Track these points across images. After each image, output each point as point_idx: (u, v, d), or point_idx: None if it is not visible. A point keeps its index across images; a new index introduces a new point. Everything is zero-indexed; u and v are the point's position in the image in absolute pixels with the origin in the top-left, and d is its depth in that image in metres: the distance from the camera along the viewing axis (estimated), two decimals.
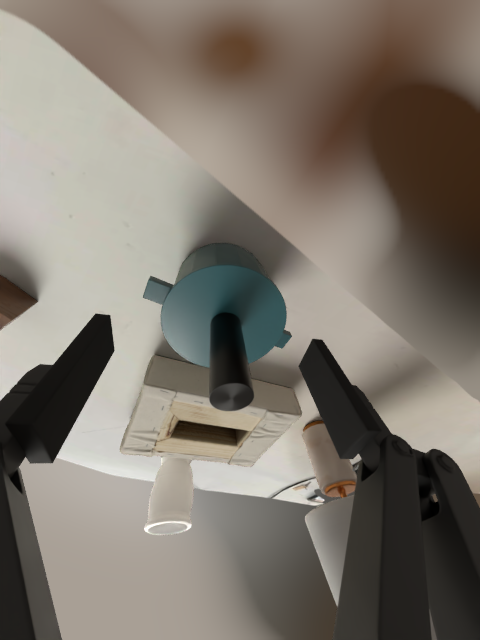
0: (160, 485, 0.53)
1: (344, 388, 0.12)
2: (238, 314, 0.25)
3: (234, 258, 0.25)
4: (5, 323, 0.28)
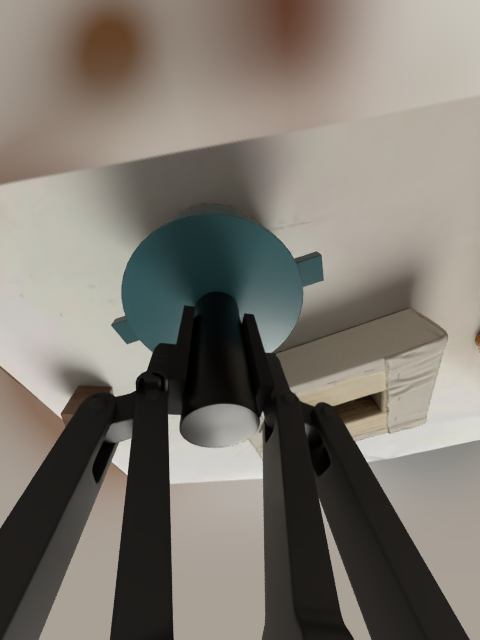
0: None
1: (255, 352, 0.12)
2: (216, 288, 0.17)
3: None
4: None
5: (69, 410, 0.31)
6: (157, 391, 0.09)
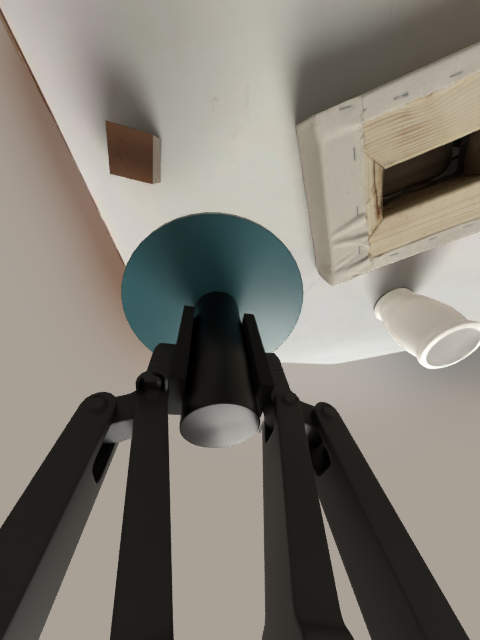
0: (401, 317, 0.41)
1: (255, 352, 0.12)
2: (216, 288, 0.17)
3: None
4: (151, 145, 0.25)
5: (115, 123, 0.25)
6: (157, 391, 0.09)
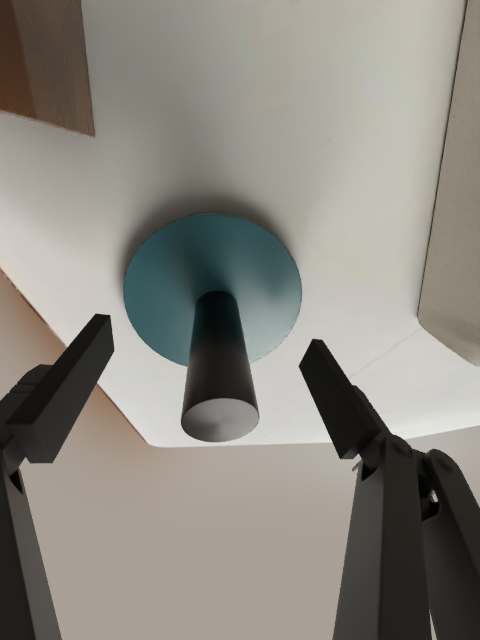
0: None
1: (344, 388, 0.12)
2: (216, 287, 0.17)
3: None
4: None
5: None
6: None
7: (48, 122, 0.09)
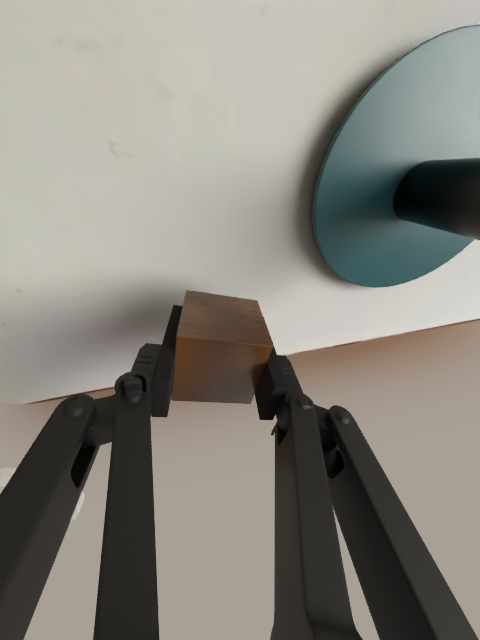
0: None
1: None
2: (391, 191, 0.15)
3: None
4: (198, 341, 0.11)
5: None
6: (138, 393, 0.09)
7: (269, 338, 0.12)
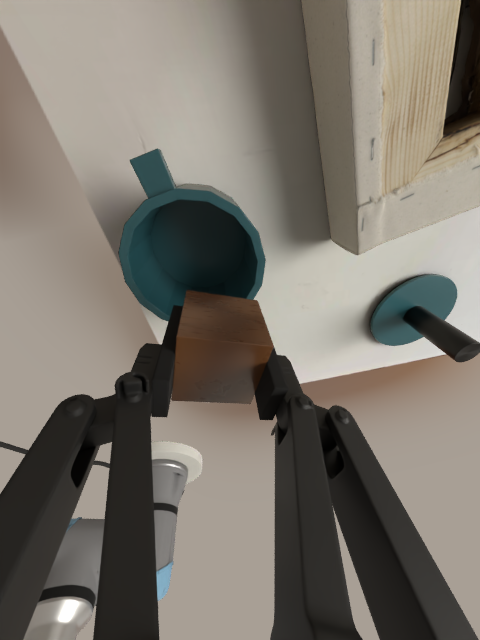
0: None
1: None
2: (402, 314, 0.38)
3: None
4: (198, 341, 0.11)
5: None
6: (138, 393, 0.09)
7: (270, 337, 0.12)
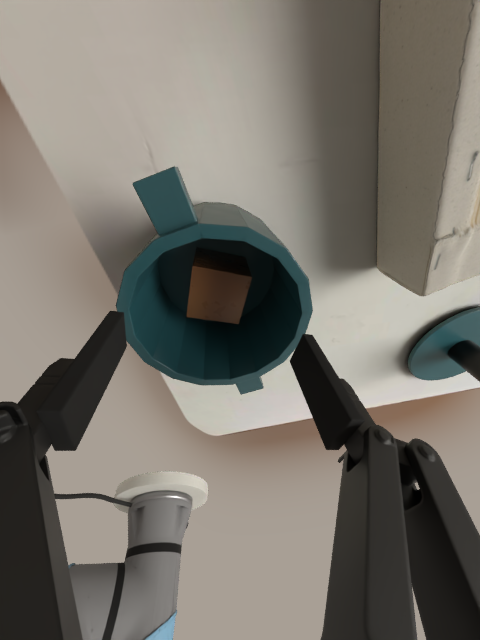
0: None
1: (331, 381, 0.12)
2: (447, 349, 0.33)
3: None
4: (205, 270, 0.17)
5: None
6: (10, 428, 0.07)
7: (250, 273, 0.19)
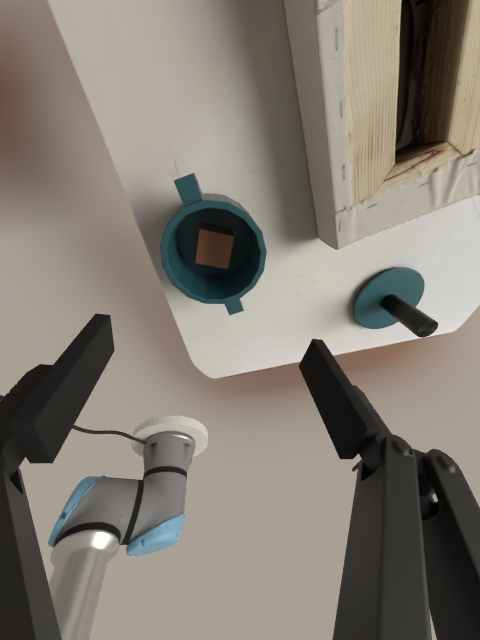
0: None
1: (344, 388, 0.12)
2: (379, 301, 0.46)
3: None
4: (207, 232, 0.30)
5: (196, 256, 0.33)
6: None
7: (233, 235, 0.32)
